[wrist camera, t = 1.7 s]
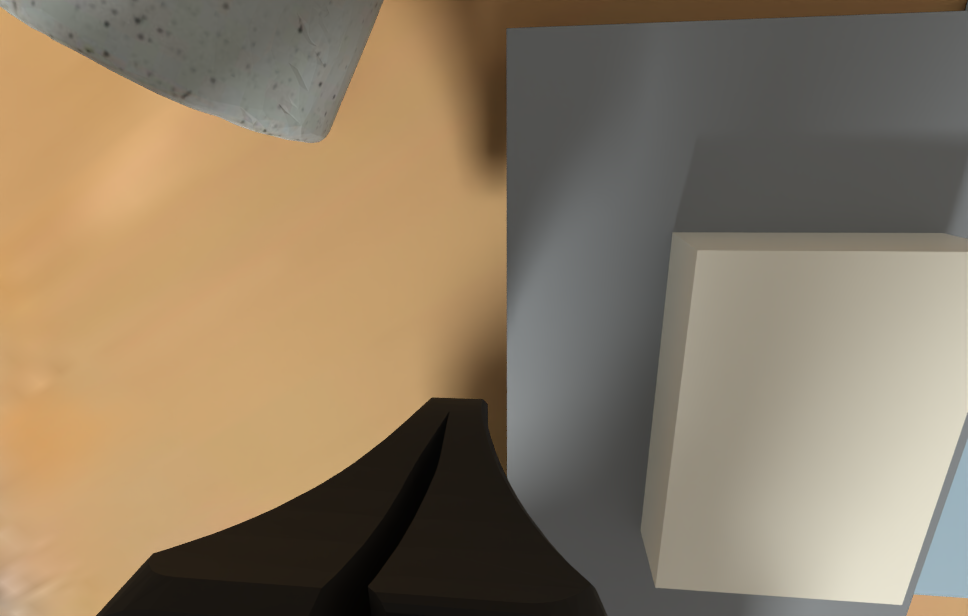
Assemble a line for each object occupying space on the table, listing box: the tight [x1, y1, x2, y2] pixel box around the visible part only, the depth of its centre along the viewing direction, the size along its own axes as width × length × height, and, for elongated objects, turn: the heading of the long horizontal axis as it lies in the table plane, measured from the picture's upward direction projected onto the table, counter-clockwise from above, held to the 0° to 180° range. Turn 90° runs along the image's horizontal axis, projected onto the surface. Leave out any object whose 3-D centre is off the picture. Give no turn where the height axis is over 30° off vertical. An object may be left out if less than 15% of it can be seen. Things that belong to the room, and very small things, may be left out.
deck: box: [507, 11, 968, 616], centre depth 15 cm, size 18×12×4 cm, turn 1°
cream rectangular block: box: [641, 232, 968, 605], centre depth 12 cm, size 9×6×2 cm, turn 1°
